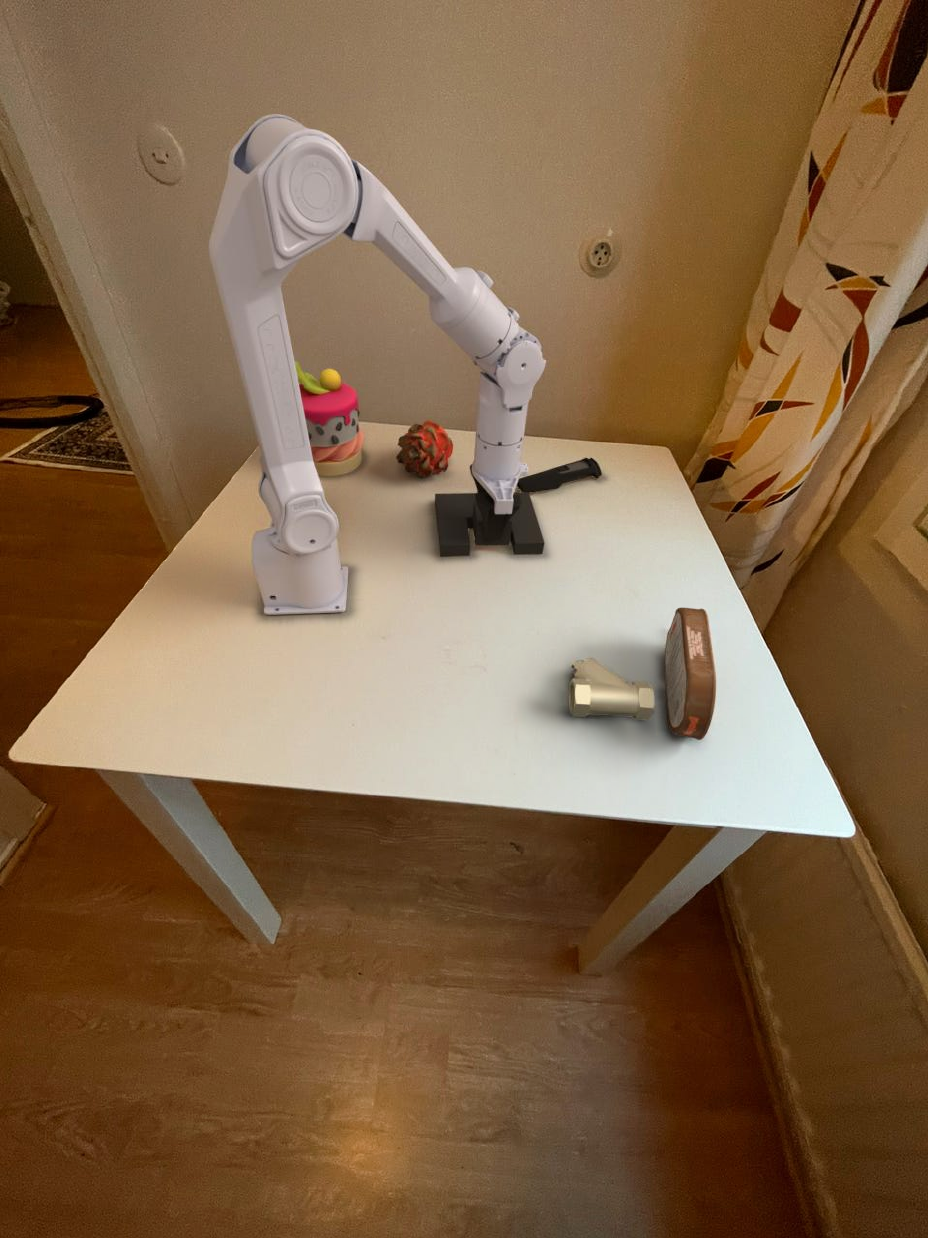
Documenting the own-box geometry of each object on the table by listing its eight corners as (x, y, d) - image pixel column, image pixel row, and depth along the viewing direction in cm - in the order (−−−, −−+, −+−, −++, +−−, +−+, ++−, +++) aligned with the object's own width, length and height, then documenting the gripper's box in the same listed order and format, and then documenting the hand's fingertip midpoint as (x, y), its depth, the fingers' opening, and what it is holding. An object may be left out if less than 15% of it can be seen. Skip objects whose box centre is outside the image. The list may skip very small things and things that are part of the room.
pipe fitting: (563, 673, 63) (570, 722, 58) (569, 648, 60) (576, 697, 55) (634, 677, 63) (647, 726, 58) (643, 653, 60) (657, 701, 55)
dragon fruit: (416, 501, 86) (423, 470, 96) (462, 472, 83) (465, 443, 93) (382, 456, 82) (393, 428, 91) (429, 424, 79) (435, 399, 88)
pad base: (440, 556, 75) (440, 545, 73) (434, 504, 83) (435, 493, 82) (542, 554, 76) (544, 542, 75) (527, 503, 85) (529, 492, 83)
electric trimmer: (508, 490, 87) (510, 472, 85) (588, 467, 92) (592, 450, 90) (521, 503, 85) (523, 485, 83) (602, 479, 90) (607, 461, 88)
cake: (351, 438, 95) (342, 347, 85) (373, 469, 89) (365, 374, 78) (290, 450, 92) (272, 356, 81) (308, 483, 85) (291, 386, 75)
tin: (695, 756, 56) (727, 707, 50) (662, 750, 56) (691, 700, 50) (684, 645, 66) (710, 593, 60) (657, 640, 66) (680, 588, 60)
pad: (475, 546, 75) (477, 521, 72) (471, 525, 78) (473, 501, 75) (509, 545, 76) (512, 521, 73) (504, 524, 79) (507, 500, 76)
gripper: (545, 466, 61) (528, 560, 71) (522, 405, 71) (511, 496, 81) (481, 466, 61) (473, 562, 71) (468, 405, 71) (463, 496, 81)
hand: (490, 527), depth 76 cm, fingers closed on pad, 4 cm apart
